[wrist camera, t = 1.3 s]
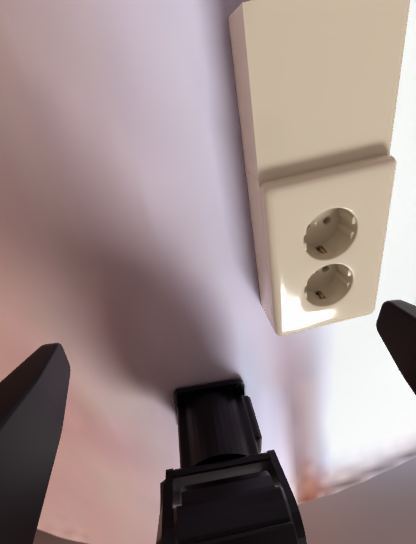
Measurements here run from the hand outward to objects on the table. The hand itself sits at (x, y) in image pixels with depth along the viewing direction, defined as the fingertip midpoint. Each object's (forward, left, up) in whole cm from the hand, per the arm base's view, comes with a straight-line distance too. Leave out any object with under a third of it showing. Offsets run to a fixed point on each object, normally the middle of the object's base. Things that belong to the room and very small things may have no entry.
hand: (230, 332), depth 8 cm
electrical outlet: (+7, 0, -13) cm, 15 cm away
